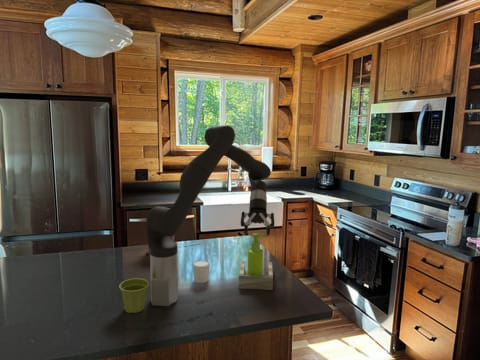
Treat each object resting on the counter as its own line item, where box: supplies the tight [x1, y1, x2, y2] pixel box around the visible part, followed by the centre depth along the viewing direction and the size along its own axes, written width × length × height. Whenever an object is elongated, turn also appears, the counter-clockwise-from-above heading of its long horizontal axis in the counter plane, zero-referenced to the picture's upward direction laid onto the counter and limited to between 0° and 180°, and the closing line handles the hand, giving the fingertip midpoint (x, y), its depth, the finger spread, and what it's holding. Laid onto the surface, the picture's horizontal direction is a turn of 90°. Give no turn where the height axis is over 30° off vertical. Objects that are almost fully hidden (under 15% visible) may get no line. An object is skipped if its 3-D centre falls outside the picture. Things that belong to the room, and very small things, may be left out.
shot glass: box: [192, 260, 211, 284], centre depth 134 cm, size 7×7×7 cm
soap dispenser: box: [247, 232, 267, 275], centre depth 132 cm, size 6×7×20 cm
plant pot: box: [118, 277, 150, 314], centre depth 111 cm, size 9×9×9 cm
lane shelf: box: [238, 260, 274, 291], centre depth 136 cm, size 18×13×5 cm
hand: (257, 235), depth 138 cm, fingers open, 8 cm apart
